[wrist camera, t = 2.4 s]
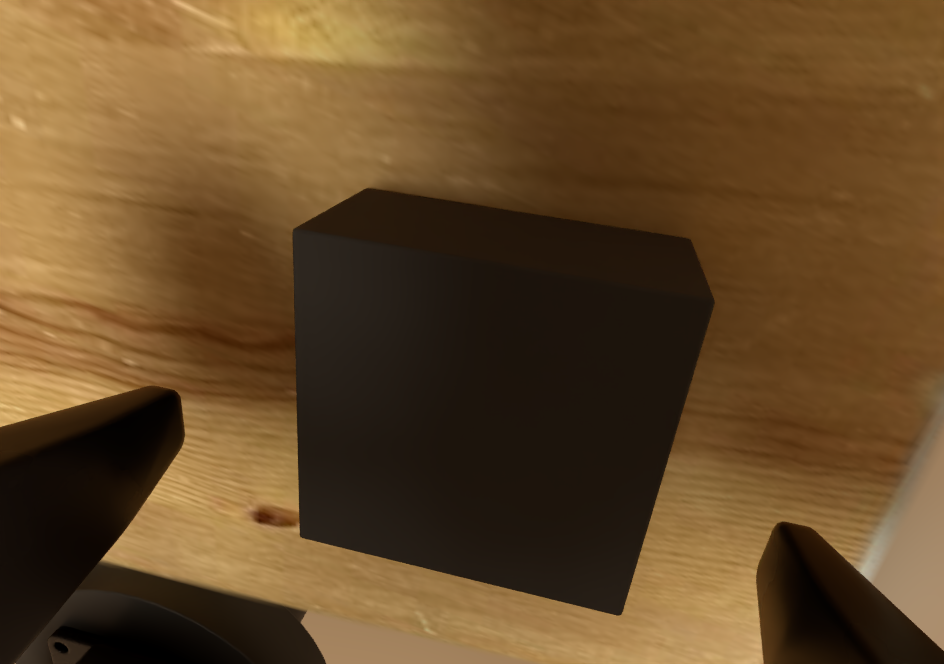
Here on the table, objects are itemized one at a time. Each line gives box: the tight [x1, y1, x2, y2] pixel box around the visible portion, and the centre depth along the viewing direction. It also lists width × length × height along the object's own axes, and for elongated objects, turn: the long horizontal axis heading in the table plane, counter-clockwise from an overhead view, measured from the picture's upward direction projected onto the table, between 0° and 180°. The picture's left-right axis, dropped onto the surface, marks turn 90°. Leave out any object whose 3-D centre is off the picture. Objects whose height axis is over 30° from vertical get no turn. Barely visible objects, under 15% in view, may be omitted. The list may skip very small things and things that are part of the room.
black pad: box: [293, 188, 714, 615], centre depth 11 cm, size 6×6×3 cm
